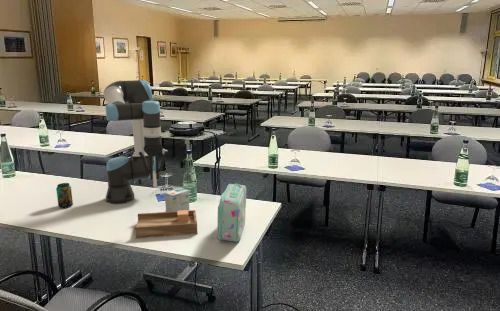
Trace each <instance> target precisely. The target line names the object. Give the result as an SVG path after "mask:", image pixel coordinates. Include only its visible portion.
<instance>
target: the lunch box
mask: <svg viewBox="0 0 500 311" xmlns="http://www.w3.org/2000/svg"><path fill="white" fill-rule="evenodd" d="M246 205H247V186H246V185H243V184H240V183H234V184H233V183H228V184H227V186H226V189H225V190H224V191H223V193H222V194H221V195H220V198H219V204H218V206H217V237H218V240H220V241H228V242H235V243H238V242H239V240H240V239H241V237H242V235H243V231H244V229H245V228H244V227H245V224H246V208H247V206H246Z"/></svg>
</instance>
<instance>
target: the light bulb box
mask: <svg viewBox="0 0 500 311" xmlns="http://www.w3.org/2000/svg"><path fill="white" fill-rule="evenodd" d="M164 203H165V212H173V211H181V210H188V211H189V210H190V192H189V189H186V188H183V187H180V188H176V189H175V188H174V189H171V190H168V191H165V192H164Z"/></svg>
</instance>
